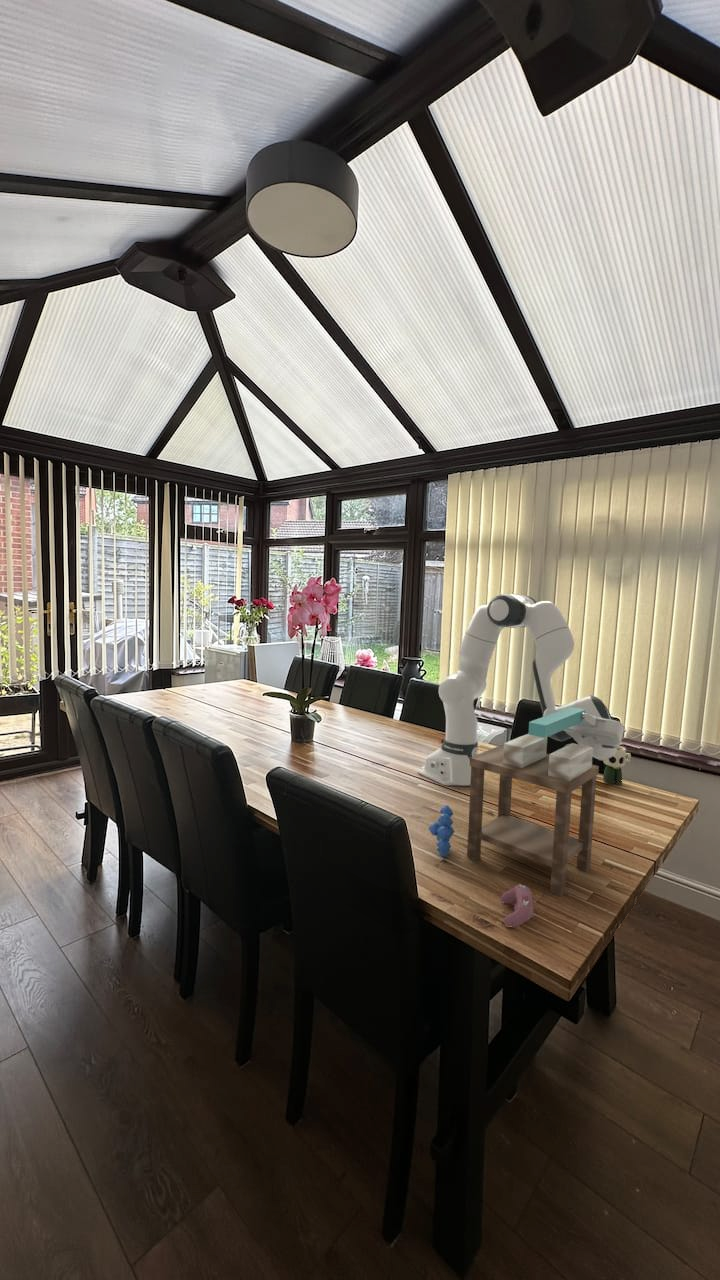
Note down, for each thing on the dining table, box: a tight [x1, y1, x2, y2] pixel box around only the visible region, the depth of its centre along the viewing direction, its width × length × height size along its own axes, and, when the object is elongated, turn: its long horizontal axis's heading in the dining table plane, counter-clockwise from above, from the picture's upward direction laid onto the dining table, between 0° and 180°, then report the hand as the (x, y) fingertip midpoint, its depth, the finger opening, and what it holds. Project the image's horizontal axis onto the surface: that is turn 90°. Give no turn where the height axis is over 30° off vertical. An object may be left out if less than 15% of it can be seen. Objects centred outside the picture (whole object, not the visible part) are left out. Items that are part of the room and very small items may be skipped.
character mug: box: [597, 745, 632, 785], centre depth 189 cm, size 11×7×13 cm, turn 82°
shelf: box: [466, 732, 600, 897], centre depth 131 cm, size 25×18×31 cm
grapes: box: [428, 804, 456, 858], centre depth 137 cm, size 12×7×12 cm, turn 166°
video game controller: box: [500, 883, 534, 928], centre depth 111 cm, size 10×5×7 cm, turn 169°
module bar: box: [527, 707, 586, 738], centre depth 131 cm, size 4×24×3 cm, turn 136°
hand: (573, 713), depth 137 cm, fingers closed on module bar, 4 cm apart
